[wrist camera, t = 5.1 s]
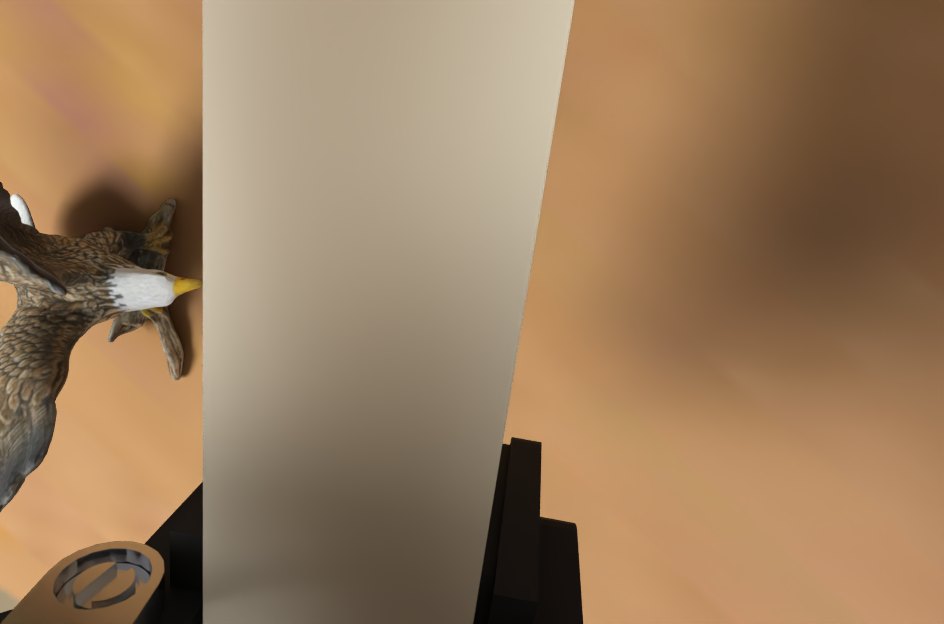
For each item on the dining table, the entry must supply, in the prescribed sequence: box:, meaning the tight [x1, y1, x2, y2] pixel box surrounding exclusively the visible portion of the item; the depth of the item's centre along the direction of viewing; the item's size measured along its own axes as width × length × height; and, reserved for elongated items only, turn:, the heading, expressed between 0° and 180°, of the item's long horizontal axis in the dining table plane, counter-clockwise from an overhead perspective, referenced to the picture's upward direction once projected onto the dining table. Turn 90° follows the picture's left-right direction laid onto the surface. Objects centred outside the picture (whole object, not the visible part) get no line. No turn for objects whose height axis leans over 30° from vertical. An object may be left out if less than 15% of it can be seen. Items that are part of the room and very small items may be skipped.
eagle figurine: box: [0, 182, 203, 512], centre depth 15 cm, size 8×7×9 cm
